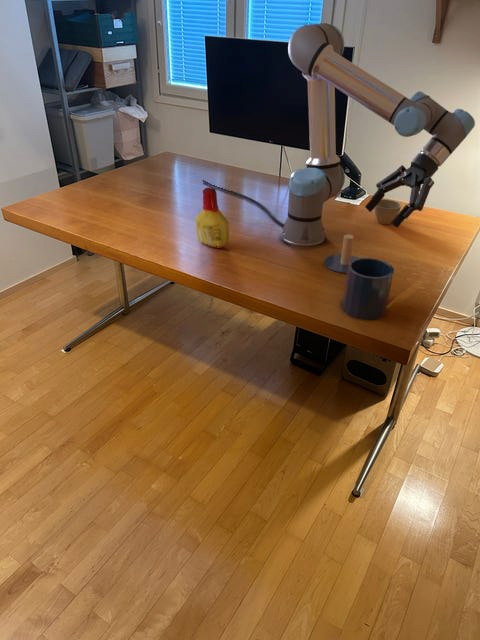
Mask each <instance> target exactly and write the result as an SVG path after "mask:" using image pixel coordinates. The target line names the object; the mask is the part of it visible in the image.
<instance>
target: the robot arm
mask: <svg viewBox="0 0 480 640" xmlns="http://www.w3.org/2000/svg"><path fill="white" fill-rule="evenodd" d="M344 50H345V39H344V36H343V33H342V32H341V30H340V29H339V28H338V27H337V26H335V25H334V24H331V23H327V22H320V23H312V24H303V25H301V26H299V27H297V29H296V30H295V31H293V33H292V34H291V36H290V38H289V41H288V46H287V53H288V57H289V59H290V61H291V63H292V65H294V66H295V67H296V68H297V69H298V70H299V71H301V72H302V73H301V74H302V77H303V78H304V79H306V81H307V103H308V126H309V127H308V128H309V129H308V130H309V152H310V153H309V154H310V156H309V158H308V159H307V160H306V161H305V164H306V167H304V168H299V169H297V170H295V171H293V173H292V174H291V175H290V178H289V183H288V202H287V217H286V220H285V222H284V223H283V222H281V220H278V219H277V218H276V217H275V216H274V215H273V214H272V213H271V212H270V211H269V209H268V208H266V206H264V205H263V204H262V203H261V202H259V201H257V200H255V199H253V198H252V197H249V196H247V195H246V194H243V193H240V192H236V191H235V190H231V191H229V190H230V189H228V190H226V189H227V188H225V189H223V188H224V187H222V188H220V187H221V186H220V187H217V186H218V185H217V186H215V185H216V184H214V185H212V184H213V183H212V184H210V183H211V182H210V183H208V182H209V181H207V180H205V179H202V182H203V183H205V184H207V185H209V186H212V188H215V189H216V188H217V189H219V190H222V191H225V192H228V193H229V194H230V193H231V194H233V195H236V196H238V197H241V198H244V199H247V200H248V201H250V202H253V203H254V204H256V205H257V206H259V207H260V208H261V209H262V210H264V211H265V212H266V213H267V215H268V216H269V217H270V218H271V219H272V220H273V221H274V222H275V223H276V224H278V225H280V226H282V229H281V232H280V239H281V241H282V242H283V243H284V244H286V245H288V246H295V247H300V248H301V247H302V248H308V247H309V248H310V247H315V246H319V245H322V244H323V243H324V242H325V236H326V235H325V227H324V224H323V221H322V217H323V207H324V203H326V202H327V201H328V200H330V199H331V198H334V197H335V196H336V195H338V194H339V193H340V191H341V190H342V189H343V187H344V185H345V181H346V173H345V170H344V168H343V167H342V166H341V158H340V157H339V156H338V155H337V154H336V153H337V152H336V96H335V95H336V94H335V92H336V91H335V89H337V90H338V91H339V92H341V93H343V95H344V94H345V96H347V97H349V98H351V99H352V100H354V101H355V102H357V103H359V104H360V105H361V106H363V107H364V108H366V109H368V110H369V111H370V112H372V113H374V114H376V115H377V116H379V117H380V118H381V119H383V120H384V121H386V122H388V123H389V124H391V125H393V127H394V129H395V131H396V133H397V134H398V135H399V136H401V137H404V138H409V137H410V138H411V137H413V136H416V135H418V134H420V133H421V132H422V131H423V130H424V131H425V132H427V133H428V134H429V135H431V136H432V137H431V138H430V139H429V140H428V141H427V143H425V145H424V146H422V148H421V149H420V152H419V153H417V154H416V155H415V157H414V158H413V159H412V160H411V162H410V166H409V167H408V168H406V167H405V166H404V165H403V164H402V165H400V166H399V167H398V168H397V169H396V170H395V171H393V172H391V174H389V175H388V176H386V177H385V178H383V179H382V180H380V181H378V182H377V183H376V184H375V187H376V188H377V190H376V192H374V194H373V195H372V196H371V198H370V200H369V201H368V202H367V203H366V205H365V206H364V208H365V209H366V210H367V211H368V212H369V213H372V212H373V211H374V208H375V207H376V205H377V204H378V203H379V202H380V201H381V200H383V198H384V197H385V196H386V193H388V192H391V191H393V190H396V189H397V188H399V187H404V186H405V187H409V188H410V189H411V190H410V195H409V203H407V204H405V205H404V206H403V207H402V208H401V209H400V211H399V213H398V215H397V216H396V217H395V218H394V219H393V220H392V222H391V223H390V224H392V225H393V226H394V227H395V228H396V229H398V228H399V227H400V225H402V223H403V222H404V221H405V219H406V220H407V219H408V218H409V217H410V216H411V215H412V214H413V212H415V211H419V212H422V211H423V209H424V206H425V204H426V202H427V199H428V196H429V193H430V191H431V189H432V188H433V186H434V185H435V181H434V179H432V177H433V176H434V175H435V174H436V172H437V171H438V170H439V167H442V165H443V164H444V163H445V162H446V161H447V160H448V159H449V157H450V156H451V155H452V154H453V153H454V152H455V151H456V150H457V148H458V147H459V146H460V145H461V144H462V143H463V142H464V140H465V139H466V138H467V137H468V135H469V134H470V133H471V132H472V131H473V129H474V128H475V125H476V122H475V121H476V120H475V119H474V117H473V116H472V115H471V114H470V113H469V112H468V111H466V110H464V109H462V108H457V109H455V110H453V111H452V112H451V111H449V110H448V109H446V108H445V107H443V106H442V105H441V104H440V103H438V102H437V101H436V100H435V99H433V98H432V97H431V96H430V95H428V94H426V93H425V92H423V91H417V92H415V94H413V95H412V96H411V97H410V98H408V97H407V96H405V95H404V94H402V93H401V92H399V91H398V90H396V89H395V88H392V87H391V86H389V85H388V84H386V83H385V82H383V81H381V79H379V78H377V77H376V76H373V75H372V74H371V73H369V72H367V71H366V70H364V69H362V68H361V67H359V66H358V65H356V64H354V63H353V62H351V61H350V60H348V59H346V58H345V57H344V56H343V54H344V52H345V51H344ZM204 180H205V181H204ZM206 181H207V182H206Z"/></svg>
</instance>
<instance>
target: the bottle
mask: <svg viewBox="0 0 480 640" xmlns="http://www.w3.org/2000/svg"><path fill="white" fill-rule="evenodd" d="M195 227H196V235H197V240H198V242H199V243H201V244H203V245H206V246H209V247H211V248H218V249H221V248H224V246H226V245H227V244H228V243H229V237H230V236H229V234H230V228H229V227H230V225H229V221H228V219H227V217H226V216H225V215H224V213H223V212H222V211H221V210H220V209H219V204H218V194H217V190H216V188H215V187H205V188H204V189H203V190H202V210H201V211H200V212H199V213H198V214H197V215H196V218H195ZM200 241H201V242H200ZM202 242H203V243H202ZM205 243H206V244H205ZM207 244H208V245H207ZM211 245H212V246H211ZM216 246H217V247H216Z"/></svg>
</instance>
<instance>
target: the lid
mask: <svg viewBox="0 0 480 640" xmlns="http://www.w3.org/2000/svg"><path fill="white" fill-rule="evenodd" d="M354 238H355V236H354V235H352V234H344V235H343V239H342V246H341V253H336V254H331V255H329V256H327V257H326V258H325V259H324V266H325V267H326V268H327V269H328V270H330V271H332V272H334V273H337V274H341V275H343V274H344V275H347V269H348V264H349V262H351V261H352V260H354V259H358V258H359V257H358V256H356V255H353V254H352V251H353V245H354Z"/></svg>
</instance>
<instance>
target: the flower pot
mask: <svg viewBox="0 0 480 640" xmlns="http://www.w3.org/2000/svg"><path fill="white" fill-rule="evenodd" d="M401 210H402V204H401V203H400V202H398V201H395V200H392V199H381V201H380V202H379V203H378V204H377V205H376V207H375V208H374V209H373V214H374V217H375V219H376V221H377V223H378V224H381V225H390V224H392V223H391V222H392V220H393V219H394V218H395V217H396V216H397V215H398V214H399V212H400V211H401Z"/></svg>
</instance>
